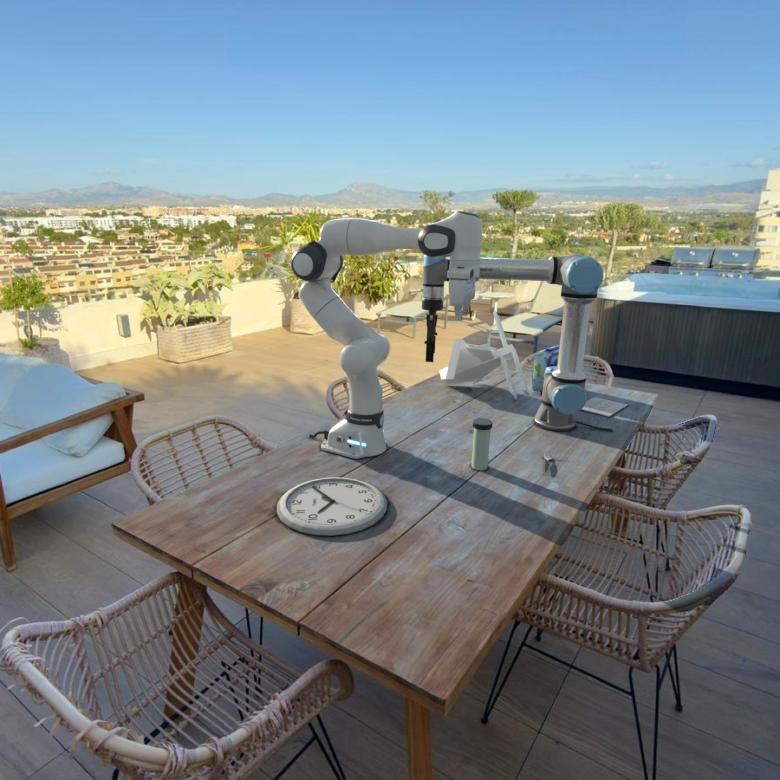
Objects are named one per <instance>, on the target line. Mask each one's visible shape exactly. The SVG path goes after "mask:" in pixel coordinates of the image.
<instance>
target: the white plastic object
mask: <svg viewBox="0 0 780 780" xmlns="http://www.w3.org/2000/svg"><path fill="white" fill-rule="evenodd" d="M492 315H493V319H494V321H495V324H496V325H495V326H496V328H497V332H498V335H499V338H500V342H501V345H502V347H500V348H498V349H496V350H495V349H493V348H492V347H491V346H490V344H489V343H488V342H487V343H483V344H479V345H473V346H469V345H468V343H466V342H465V340H464V339H463V338H460V339H458V338H454V340H453V344H452V349H451V353H450V357H449V362H448V366H446V367H444V368H442V369H440V370H439V371H438V372H439V376H440V381H442V383H443V384H444V385H445V386H449V385H458V384H467V383H468V384H469V383H473V384H477V383H480V382H482V381H484V378H485V377H486V376H487V375H489V374H490V373H492V372H494V371H495V370H496V369H497V368H499V367H500V366H502V370H503V373H504V376H505V380H506V383H507V386H508V390H509V393H510V394H511V395H512V397H513V398H514V399H515V400H517V392H516V391H517V390H516V388H515V385H514V381H513V378H512V375H511V371H510V369H509V365H508V361H510V360H513V363H514V366H515V369H516V372H517V376H518V380H519V382H520V385H521V389H522V391H523V393H524V395H525V396H526V397H528V396H531V395H530V390H529V388H528V387H529V386H528V384H527V381H526V378H525V375H524V371H523V369H522V368H523V367H522V366H521V362H520V359H519V355H518V352H517V349H516V347H515V346H514V345H513V343H511V344H508V341H507V337H506V334H505V331H504V328H503V325H502V321H501V318H500V315H499V314H498V312H497V311H496V310H495V311H492Z"/></svg>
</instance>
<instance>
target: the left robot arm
mask: <svg viewBox="0 0 780 780" xmlns="http://www.w3.org/2000/svg"><path fill="white" fill-rule="evenodd" d="M482 245H483V222H482V218H481V217H480V216H479V215H478V214H476V213H472V212H468V211H463V210H457V211H454V212H453V214H451V215H450V216H448V217H446V218H443V219H442V220H439V221H436V222H433V223H430V224H427V225H426V226H424V227H422V228H417V227H416V228H413V227H412V228H410V227H398V226H393V225H390V224H387V223H383V222H379V221H376V220H372V219H367V218H357V217H346V218H345V217H344V218H336V219H331V220H327V221H325V222H324V223H323V224H322V226H321V227H320V229H319V238H318V240H316V241H315V240H311V241H309V242H308V243H306V244H304V245H303V246H301V247H299V248H298V249H297V250H295V251H294V253H293V254H292V256H291V259H290V268H291V271H292V273H293V274H294V275H295V277H297V278H298V279H300V280H301V281H304V282H303V283H302V284H301V285H300V287H299V289H298V297H299V299H300V302H301V303H302V305H303V306H304V308H305V309H306V311H307V313H308V314H309V316H311V317H312V318H313V320H314V321H315V322H316V323H317V325H318V326H319V327H320V328H321V329H322V330H323V331H324V332H325V334H326V335H327V336H328V337H329V338H331V339H332V340H335V341H337V342H338V343H340V344H341V345H343V346H344V347H343V349H342V350H341V351H340V353H339V357H338V362H339V366H340V368H341V370H342V371H343V372H344V373H345V376H346V380H347V384H348V393H349V394H348V397H349V400H348V402H349V403H348V404H349V405H348V406H347V408H346V409H345V410H344V411H342V417H344V418H343V419H341V420H340V421H338V422H337V423H336V424H334V425H333V426H330V427H328V428H326V429H325V430H320V431H317V432H314V434H309V438H312V439H315V438H316V437H317V436H318V435H323V439H324V440H323V441H322V442H321V444H320V449H321V450H322V451H325V452H329V453H332V454H337V455H339V456H343V457H347V458H350V459H354V460H359V459H362V458H366V457H374V456H379V455H381V454H383V453H385V452H386V451H387V444H386V440H385V436H384V423H385V415H384V411H385V410H384V408H383V391H384V390H383V386H382V384H381V383H380V380H379V374H378V369H379V366H380V365H381V364H383V363H384V362H385V361H386V360H387V359H388V357H389V355H390V352H391V343H390V340H389V339H388V337H386V336H385V335H384V334H382V333H379V332H378V331H376V330H375V329H374V328H372V327H371V326H370V325H369V324H368V323H366V322H364V321H363V320H362V319H361V318H360V317H359V316H358V315H356V313H354V311H353V310H352V309H351V308H350V307H349V306H348V304H346V303H345V301H344V300H343V299H342V298H341V296H339V294H338V293H337V292H336V291H335V290H334V289H333V286H332V284H333V283H335V281H336V280H337V278H338V276H339V274H340V272H341V271H342V269H343V267H344V256H351V257H352V256H354V257H357V256H358V257H362V256H371V255H373V256H374V255H377V254H382V253H385V252H389V251H394V250H420V252H421V253H422V254H423V255H426V256H429V257H432V258H437V257H446V258H449V259H450V266H449V270H448V272H447V278H449V282H448V302H449V306H451V307H453V311H454V320H455V321H456V322H457V321H458V322H460V321H462V320H463V317H467V316H468V315H469V313H470V312H469V311H470V308H471V307H470V306H471V301H472V300H474V299H475V297H476V284H477V282H476V278H475V277H479V276H480V262H481V258H482V257H481V248H482Z"/></svg>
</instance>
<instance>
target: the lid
mask: <svg viewBox="0 0 780 780" xmlns="http://www.w3.org/2000/svg"><path fill="white" fill-rule="evenodd" d="M472 427H473V429H474V428H475V429H478V430H490V431H491V430H492V429H493V421H492V420H491V419H490V418H489V419H488V418H481V417H479V418H475V419H473V420H472Z"/></svg>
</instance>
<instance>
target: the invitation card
mask: <svg viewBox="0 0 780 780" xmlns="http://www.w3.org/2000/svg"><path fill="white" fill-rule="evenodd" d="M628 406H629V404H627V403H623V402H618V401H614V400H609V399H605V398H601V397H596V396H593V397H592V398H590V399H587V401H586V404H585V406H584V407H583V408H582V409H581V410H580V411H584V412H587V413H593V414H596V415H600V416H604V417H608V418H609V417H611V416H613V415H614V414H616V413H617V412H619V411H621V410H623V409H624V408H626V407H628Z"/></svg>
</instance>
